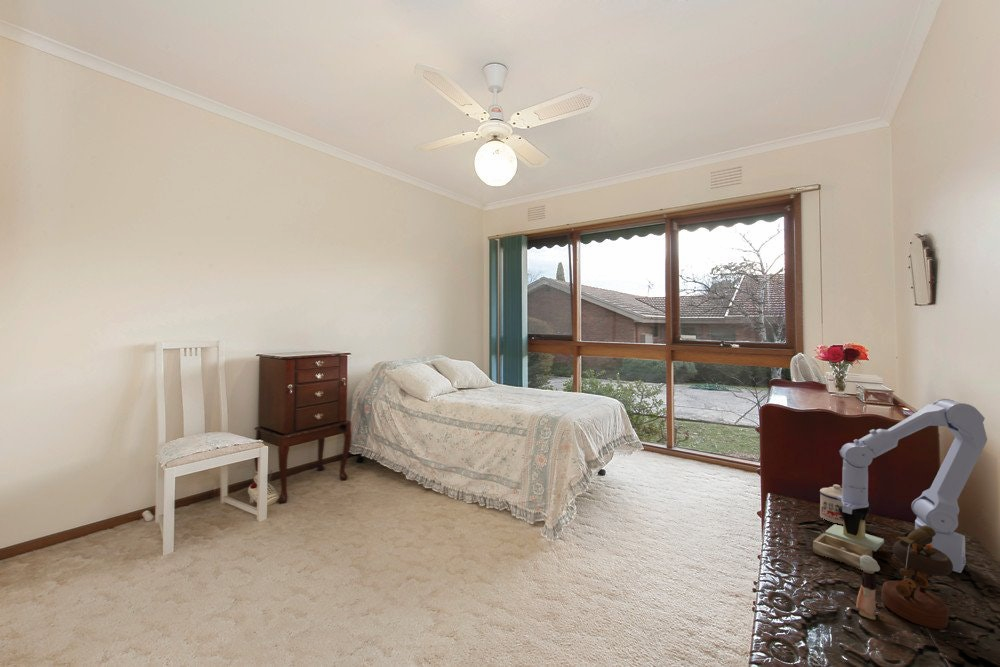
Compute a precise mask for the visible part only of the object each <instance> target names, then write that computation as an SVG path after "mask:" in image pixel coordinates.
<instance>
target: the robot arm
mask: <svg viewBox="0 0 1000 667" xmlns="http://www.w3.org/2000/svg"><path fill="white" fill-rule="evenodd" d="M985 420H986V418H985V417H984V415H983V414H982V413H981V412H980V411H979V410H978V409H977V408H976V407H975V406H974V405H972V404H968V403H962V402H958V401H955V400H952V399H950V398H940V399H937V400H935V401H934V402H933V403H928V404H926V405H924V406H923V407H922V408H921V409H919V410H918V411H915V413H913V414H911V415H909V416H908V417H906V418H904V419H903V420H901V421H899V422H898V423H896V424H895V425H893V426H891V427H889V428H887V429H884V428H878V429H874V428H873V429H870V430H869V431H868V432H869V433H868V434H866V435H865V436H862V437H861V438H859V439H857V438H855V439H854V440H853V442H847V443H845V444H843V445H842V446H841V448H840V450H839V455H840V457H841V458H842V473H841V475H842V476H841V477H842V478H841V479H842V481H841V489H842V496H837V499H839V500H841V501H842V504H843V505H842V506H840V507H838V510H839V512H840V514H841V515H842V517H843V520H844V523H845V527H846V531H847V533H849V534H852V535H855V536H856V535H857V533H858V529H859V524H860V521H861V520H864V521H865V522H866V518H867V516H868V514H869V512H870V511H871V510H872V508H871V507H870V506H869V505H870V504H869V501H868V500H869V466H870V465H871V464H872V463H873V459H875V458H877V457H880V456H881V455H883V454H885V453H887V452H888V451H891V450H892V449H894V448H896V447H898V444H899V441H900V440H901V439H903V438H906V437H907V436H910V435H912V434H914V433H917V432H919V431H921V430H923V429H925V428H927V427H929V426H930V427H932V426H933V427H947V429H948V430H949V431H950V432H951V434H952V435H953V436H954V439H953V441H952V442H951V445H950V447H949V449H948V451H947V453H946V456H945V458H944V459H943V461H942V463H941V465H940V467H939V469H938V471H937V474H936V476H935V477H934V480H933V481H932V484H931V485H930V487H929V488H928V489H926V490H923V491H922V493H921V495H920V496H918V497H917V498H915V499H914V500H913V501H912V502H911V510H912V512H913V514H914V515H915V516H916V518H915V520H914V529H915V530H916V529H920V528H921V527H922V526H929V527H931V528H932V529H934V531H935V533H936V535H935V536H934V537H932V539H933V540H932V542H931V543H930V545H932V547H933V548H935V549H937V550H939V551H941V552H943V553H944V554H946V555H947V556H948V557H949V559H950V560H951V562H952V564H953V570H952V572H955V573H958V574H961V573H962V572H963V570H964V568H965V566H966V562H967V557H966V536H965V535H963V534H961V533H958V532H955V531H956V529H957V528H958V527H959V513H960V507H959V502H958V499H959V497H960V495H961V493H962V492H963V489H964V487H965V486H966V484H967V482H968V480H969V478H970V476H971V473H972V471H973V469H974V468H975V466H976V463H977V462H978V460H979V457H980V456H981V454H982V452H983V450H984V448H985V446H986V444H987V442H988V437H987V434H986V429H985V425H984V421H985ZM927 545H928V544H927Z"/></svg>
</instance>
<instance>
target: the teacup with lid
mask: <svg viewBox="0 0 1000 667" xmlns="http://www.w3.org/2000/svg"><path fill="white" fill-rule="evenodd" d="M819 494H820V503H819V517H820V518H821V519H822V518H823V519H822V520H824V519H825V520H827V521H830V522H833V523H838V524H843V517H842V515H841V514H840V512H839V510H838V507H840V506H842V505H843V504H842V501H841V500H839V499H837V496H842V485H839V484H833V485H832V486H829V487H822V488H820V490H819ZM825 520H824V521H825ZM827 521H826V522H827ZM830 522H829V523H830ZM833 523H832V524H833Z"/></svg>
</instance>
